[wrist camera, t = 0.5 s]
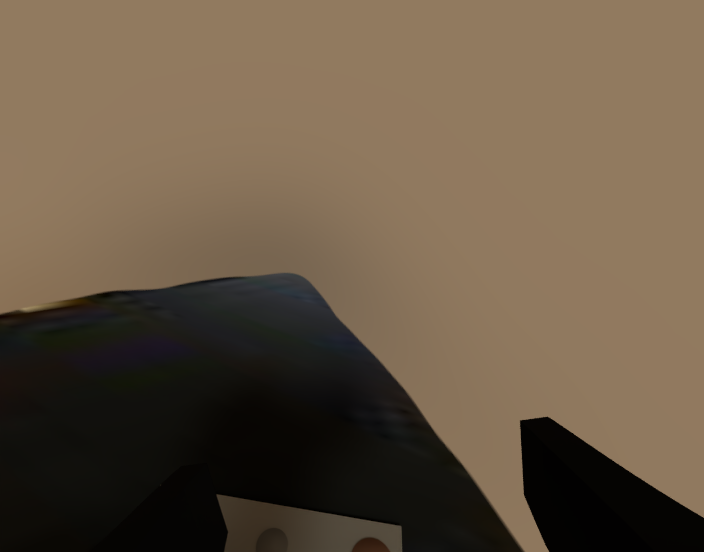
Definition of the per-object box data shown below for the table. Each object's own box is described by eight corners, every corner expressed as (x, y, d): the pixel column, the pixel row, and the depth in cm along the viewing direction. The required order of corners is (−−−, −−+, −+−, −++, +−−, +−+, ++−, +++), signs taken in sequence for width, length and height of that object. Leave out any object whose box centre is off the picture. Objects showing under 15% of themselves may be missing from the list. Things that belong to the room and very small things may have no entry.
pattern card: (402, 620, 22) (404, 617, 22) (116, 571, 22) (115, 568, 22) (400, 528, 27) (401, 525, 26) (160, 487, 26) (160, 483, 26)
